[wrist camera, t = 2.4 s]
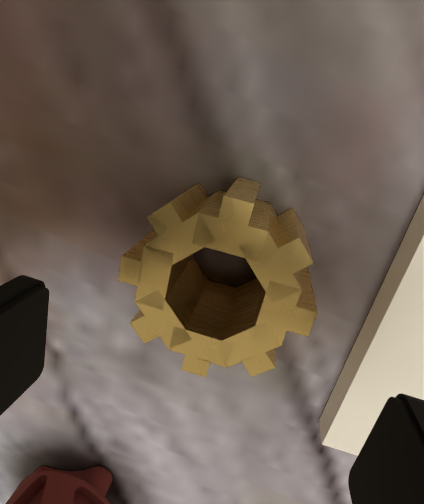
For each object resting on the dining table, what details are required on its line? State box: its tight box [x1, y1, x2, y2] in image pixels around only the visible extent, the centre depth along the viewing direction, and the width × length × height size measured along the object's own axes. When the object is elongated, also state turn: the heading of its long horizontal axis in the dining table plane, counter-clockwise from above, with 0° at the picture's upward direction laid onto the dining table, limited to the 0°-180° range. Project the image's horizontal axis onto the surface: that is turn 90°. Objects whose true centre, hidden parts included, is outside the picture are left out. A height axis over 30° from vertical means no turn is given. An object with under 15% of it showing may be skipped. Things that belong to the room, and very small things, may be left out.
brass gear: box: [118, 177, 317, 377], centre depth 14 cm, size 7×7×4 cm
